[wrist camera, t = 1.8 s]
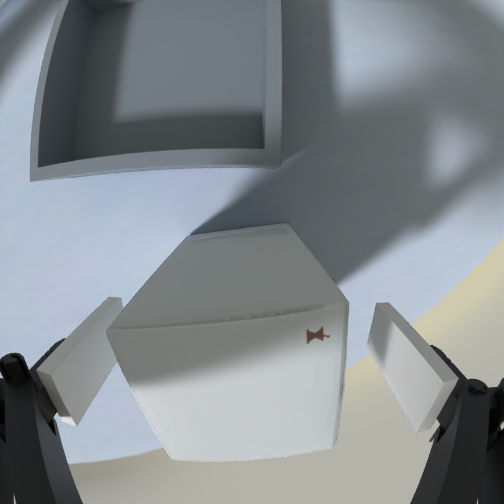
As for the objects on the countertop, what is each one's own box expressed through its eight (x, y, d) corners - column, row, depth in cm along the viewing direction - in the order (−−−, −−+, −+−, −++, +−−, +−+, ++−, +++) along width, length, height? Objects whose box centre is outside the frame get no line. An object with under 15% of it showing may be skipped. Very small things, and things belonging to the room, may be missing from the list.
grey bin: (70, 177, 18) (30, 181, 13) (92, 13, 14) (66, -10, 9) (272, 168, 18) (280, 165, 13) (273, -11, 14) (279, -48, 9)
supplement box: (184, 233, 19) (96, 322, 7) (290, 220, 19) (360, 297, 7) (202, 326, 21) (167, 462, 9) (297, 316, 21) (341, 451, 9)
